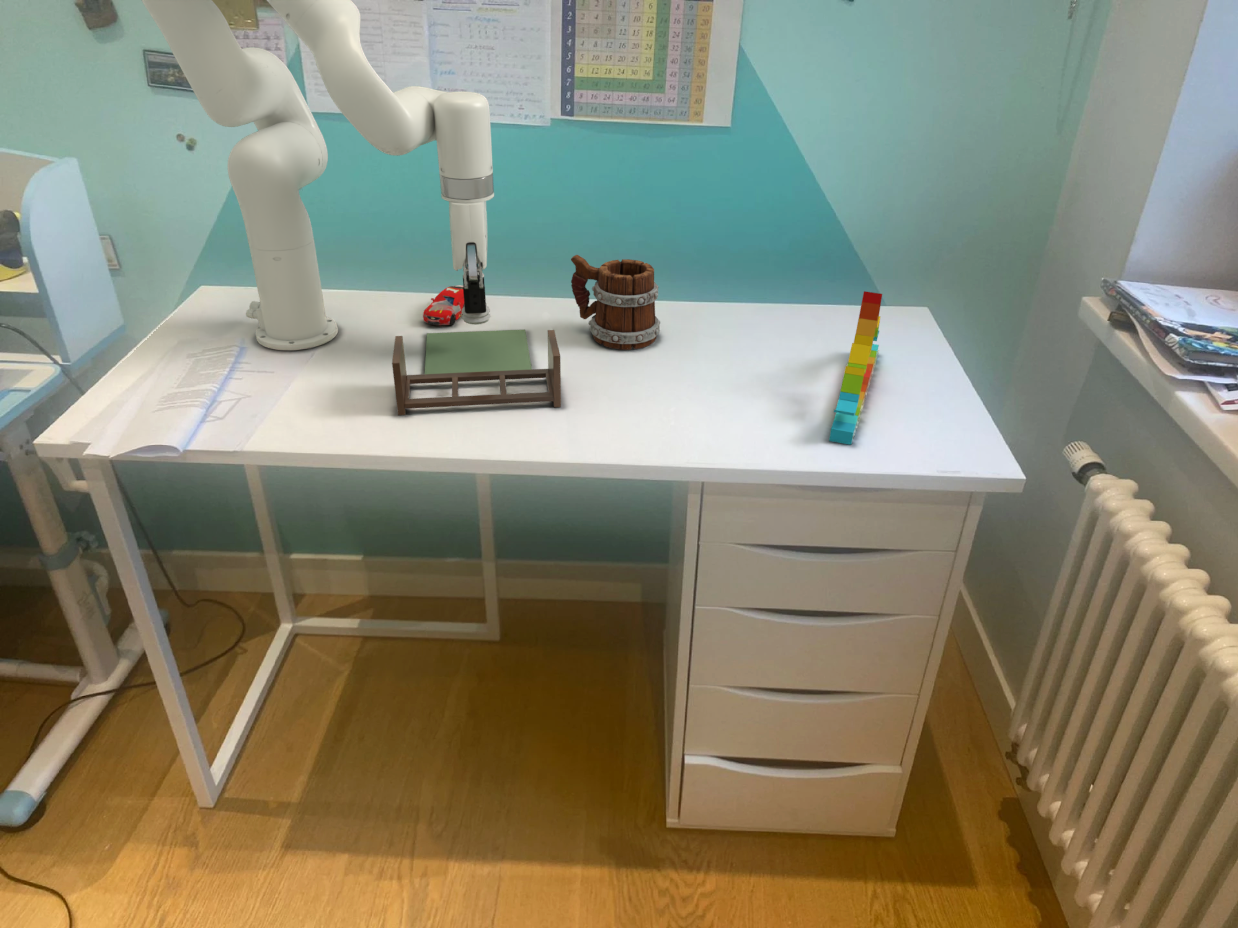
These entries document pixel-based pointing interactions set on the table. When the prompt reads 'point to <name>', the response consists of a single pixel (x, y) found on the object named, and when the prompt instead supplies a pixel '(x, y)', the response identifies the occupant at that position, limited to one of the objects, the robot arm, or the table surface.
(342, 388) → the table surface
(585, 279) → the mug
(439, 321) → the race car
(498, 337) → the mat
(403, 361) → the rack
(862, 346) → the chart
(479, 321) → the rook chess piece
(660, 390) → the table surface
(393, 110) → the robot arm
